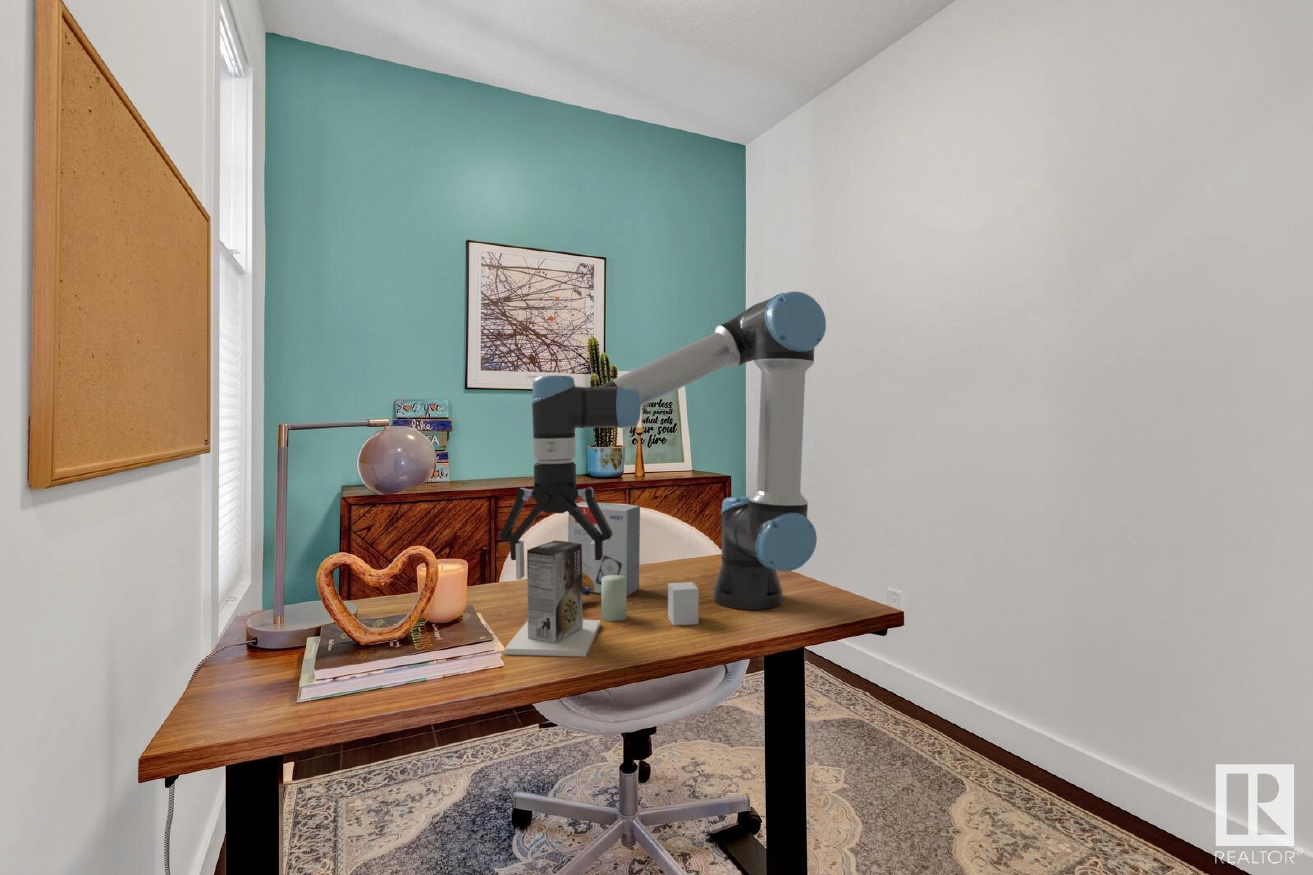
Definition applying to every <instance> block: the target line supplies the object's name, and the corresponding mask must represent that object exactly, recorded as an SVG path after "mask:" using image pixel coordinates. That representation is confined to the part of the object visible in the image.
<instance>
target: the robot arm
mask: <svg viewBox="0 0 1313 875" xmlns="http://www.w3.org/2000/svg"><path fill="white" fill-rule="evenodd" d="M826 321H827V320H826V315H825V313H824V310H823V308H822V306H821V305H820V304H819V303H818V302H817V300H816V299H815V298H814V297H813V296H811V295H809V294H807V293H804V292H801V291H788V292H782V293H778V294H775V295H774V296H772V297H770V298H768V299H766V300H764V301H759V302H757V303H755V304H753V305H752V306H750V307H749V308H747V309H745V310H744V311H742V312H741V313H740V314H738V315H737V316H735V317H733V318H731V319H729V320H728V321H725V322H724V323H722V324H720V325H717V326H716V327H715V328H714V332H713V333H711V334H709V335H706V336H705V337H702V338H701V339H697V340H696V341H694V342H692V343H690V344H688V345H685V346H683V347H681V348H678V349H677V350H675V351H674V350H673V351H672V352H670V353H667V354H666V355H664V356H661V357H659V358H657V359H655V360H653V361H651V362H648V363H647V364H644V365H642V366H640V367H638V368H637V367H636V369H633V370H631V371H628V372H627V373H624V374H622V375H620V376H618V377H616V378H613V379H612V380H610V381H608V382H607V381H606V382H605V383H602V384H600V385H598V386H592V387H590V386H589V387H588V386H586V387H583V386H576V383H575V379H574V377H572V376H570V375H540V376H539V375H538V376H537V377H535V378H534V379H533V381H532V394H531V396H532V397H531V398H532V399H531V400H532V401H531V409H532V413H531V414H532V435H533V438H532V444H533V447H532V448H533V460H534V461H536V462H535V463H534V464H533V483H534V484H533V489H528V488H526V487H521V488H518V489H517V490H516V493H515V502H514V504H513V506H512V508H511V511H510V512H509V514H508V516H507V518H506V521H505V523H504V525H503V527H502V529H501V531H500V534H499V539H500V540H502V541H507V542H508V543H509V545H510V546H509V547H510V548H509V549H510V559H511V560H512V561H515V565H516V566H515V571H516V572H515V575H516V577H515V578H516V580H519V581H520V580H522V578H524V577H525V573H526V572H525V543H524V542H525V541H524V540H520V539H521V537H522V536H524V534H525V533H526V531H527V530H528V529H529V528H530V527H531V525H532V524H533V523H534V522H535V520H537V518H538V517H539V515H540V514H542V512H544V513H545V514H553V513H556V514H564V513H566V512H567V513H568V515H569V514H570V515H572V516H573V517H574V518H575V519H576V521H577V522H578V523H579V524H580V525H581V526H582V527H583V529H584V530H585V531H586V532H587V533H588V534H589V536H590V537H591V538H592V539H593V540H594V541H592V542H591V543H590V557H591V580H595V579H596V577H597V560H601V559H602V557H603V541H604V540H608V539H610V538H611V536H612V534H613V533H612V531H611V529H610V527H609V525H608V523H607V521H606V519H605V517H604V515H603V513H602V511H601V510H600V508H599V506H598V504H597V503H598V502H597V500H596V498H595V497H596V496H595V490H594V487H592V486H589V487H587V488H581V489H580V488H578V486H577V465H576V463H575V461H574V460H575V459H576V458H577V456H576V453H577V452H576V429H584V428H586V429H587V428H595V429H596V428H597V429H598V428H601V429H603V428H604V429H605V428H607V429H608V428H609V429H610V428H619V429H623V428H630V427H632V428H633V427H636V426H637V425H638V424H639V421H640V420H641V419H640V418H641V412H642V407H643V406H645V405H648V404H649V403H652V402H654V401H655V400H658V399H661V398H662V397H664V396H667V395H669V394H671V393H673V392H675V391H677V390H679V389H681V388H684V387H685V386H688V385H690V384H693V383H694V382H696V381H698V380H701V379H702V378H704V377H707V376H709V375H712V374H713V373H715V372H718V371H720V370H722V369H724V368H726V367H728V366H729V367H732V368H736V367H739V366H741V365H743V364H747V363H749V362H752V361H754V362H753V363H754V365H755V366H756V367H757V368H759V370H760V371H761V374H760V398H759V400H760V401H759V422H758V424H759V425H758V444H757V445H758V447H757V448H758V449H757V450H758V451H757V473H756V474H757V475H756V476H757V478H756V490H755V492H754V493H753V494H752V495H750V496H737V497H736V496H735V497H734V496H730V497H726V498H724V499H723V501H722V504H721V512H720V514H721V563H720V564H721V565H720V569H719V572H718V574H717V578H716V580H715V583H714V587H713V601H714V602H716V603H717V604H719V605H721V606H725V607H728V608H733V609H740V610H765V609H766V610H767V609H771V608H772V609H773V608H775V607H776V608H777V607H778V606H780V605H782V603H783V596H784V595H783V593H784V592H783V589H782V585H781V582H780V579H779V576H778V571H779V572H791V571H794V570H797V569H800V568H801V567H803V566H804V565H805V564H806V563H807V562H808V561H809V560H810V559H811V557H813V555H814V552H815V550H816V547H817V540H818V537H817V536H818V535H817V531H816V528H815V526H814V525H813V523H812V522H811V521H810V519H809V518H808V503H809V502H808V500H807V499H806V498H805V496H804V495H803V494H802V492H801V482H802V462H803V461H802V457H803V437H804V436H803V435H804V415H805V414H804V412H805V391H806V390H805V389H806V388H805V387H806V373H807V371H808V370H809V369H810V368H812V367H813V365H814V361H815V347H817V346H818V345H819V344H820V342H822V341H823V339H824V336H825V334H826V330H827V329H826V328H827V322H826ZM579 496H580V498H581V499H582V500H583V502H587V505H588V507H589V509H590V511H591V513H592V515H593V516H594V518H595V520H596V522H597V524H598V526H599V528H600V530H601V532H602V533H600V532H599V531H598V530H597V529H596V527H595V526H594V525H593V524H592V523H591V522H590V521H589V519H588V518H587V517H586V516H585V515H584V514H583V512H582V511H581V510H580V508H579V507H578V506H577V505H576V503H577V502H576V500H577V499H578V498H579ZM531 497H532V499H533V500H534V501H535V502H536V505H535V506H534V507H533V509H532V510H531V512H530V513H529V514H528V515H527V517H526V518H525V519H524V520H523V521H522V522H521V524H520V525H519V526H518V527H517V529H516V530H515V531H514V532H513V533H512V531H513V529H514V528H515V524H516V523H517V520H518V519H519V516H520V514H521V512H522V509H523V508H524V505H525V503H526V502H527V501H528V500H529V499H530V498H531Z"/></svg>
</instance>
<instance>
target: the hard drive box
mask: <svg viewBox="0 0 1313 875" xmlns="http://www.w3.org/2000/svg"><path fill="white" fill-rule="evenodd" d="M575 503H576V505H577V506H578V507H579V508H580V510H581V511H582V512H583V514H584V515H585V516H586V517H587V518H588V519H589V521H590V522H591V523H592V524H593V525H594V526H595V527H596V529H597V530H598V531H599V532H600V533H602V532H601V530H600V528H599V526H598V524H597V522H596V520H595V518H594V516H593V515H592V513H591V511H590V509H589V507H588V505H587V502H586V501H581V502H575ZM597 504H598V506H599V508H600V510H601V511H602V513H603V515H604V517H605V519H606V521H607V523H608V525H609V527H610V529H611V531H612V533H613V534H612V536H611V538H610V539H608V540H604V541H603V557H602V559H601V560H597V577H596V579H595V580H591V557H590V543H591V542H592V541H594V540H593V539H592V538H591V537H590V536H589V534H588V533H587V532H586V531H585V530H584V529H583V527H582V526H581V525H580V524H579V523H578V522H577V521H576V519H575V518H574V517H573V516H572V515H570V514H569V513H568V529H567V530H568V534H567V535H568V541H567V542H572V543H579V544H582V587H590V588H592V590H590V593H597V594H601V578H602V577H604V576H608V575H621V576H625V577H626V598H627V597H629V596H630V595H632V594H633V593H634V592H635V593H636V591H638V590H640V544H641V543H640V542H641V541H640V534H641V528H640V527H641V517H640V516H641V507H640V505H635V504H634V505H631V504H620V503H607V502H606V503H605V502H597Z"/></svg>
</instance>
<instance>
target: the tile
mask: <svg viewBox="0 0 1313 875" xmlns="http://www.w3.org/2000/svg"><path fill="white" fill-rule="evenodd" d="M600 627H601V619H583V628H581V629H579V630H578V631H576V632H574V633H573V634H571V635H569V636H568V637H566V638H565V639H563V640H561V641H560V642H558V643H550V642H545V641H539V640H534V639H529V638H528V620H527V621H526V622H525V623H524V624H523V625H522V627H521V628H520V629H519V630H518V632H517V633H516V634H515V635H514V637H513V638H512V639H511V640H510V641H509V642H508V644H507V645H506V646H505V647H504V655H508V656H509V655H512V656H513V655H515V656H549V657H550V656H552V657H555V656H556V657H581V658H582V657H585V658H586V657H587V655H588V652H589V651H590V648H591V646H592V644H593V642H594V640H595V638H596V635H597V633H598V631H599V629H600Z"/></svg>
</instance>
